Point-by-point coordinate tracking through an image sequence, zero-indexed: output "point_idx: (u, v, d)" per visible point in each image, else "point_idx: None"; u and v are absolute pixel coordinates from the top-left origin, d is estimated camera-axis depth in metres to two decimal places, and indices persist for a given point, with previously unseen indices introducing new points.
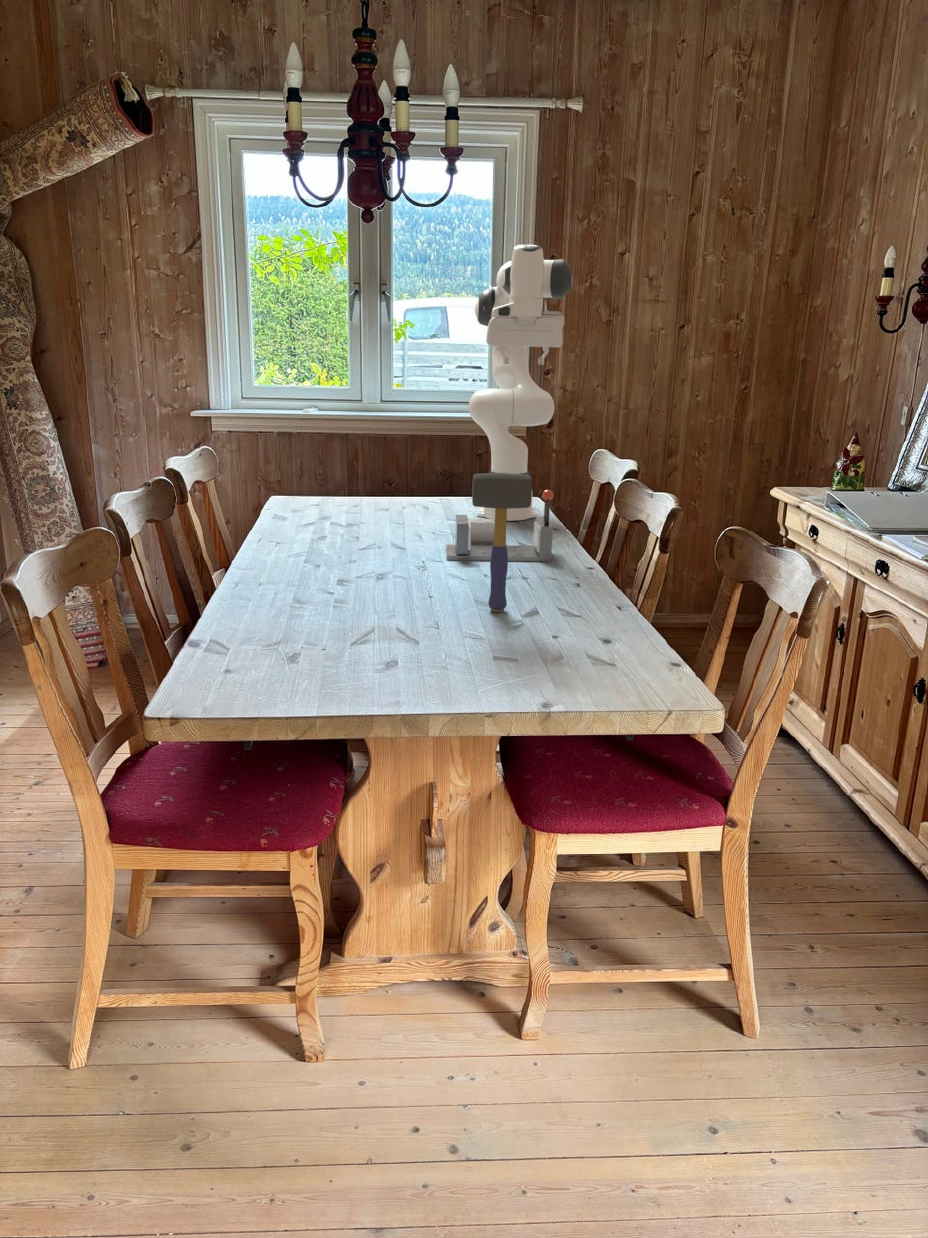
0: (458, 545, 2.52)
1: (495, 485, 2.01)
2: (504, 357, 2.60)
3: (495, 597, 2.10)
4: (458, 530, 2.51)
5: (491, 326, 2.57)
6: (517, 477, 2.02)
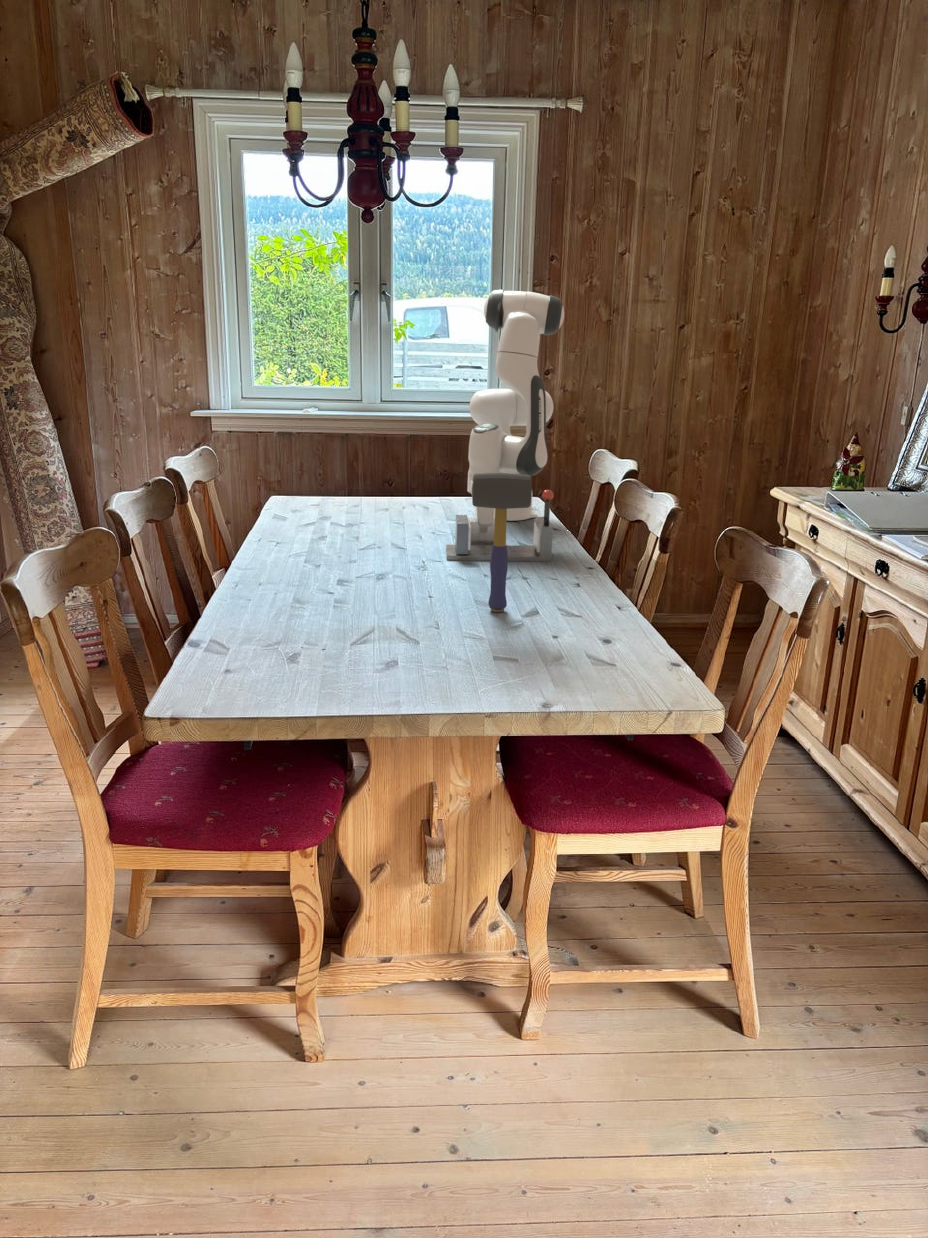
0: (458, 545, 2.52)
1: (495, 485, 2.01)
2: (486, 532, 2.65)
3: (495, 597, 2.10)
4: (458, 530, 2.51)
5: (494, 508, 2.57)
6: (517, 477, 2.02)
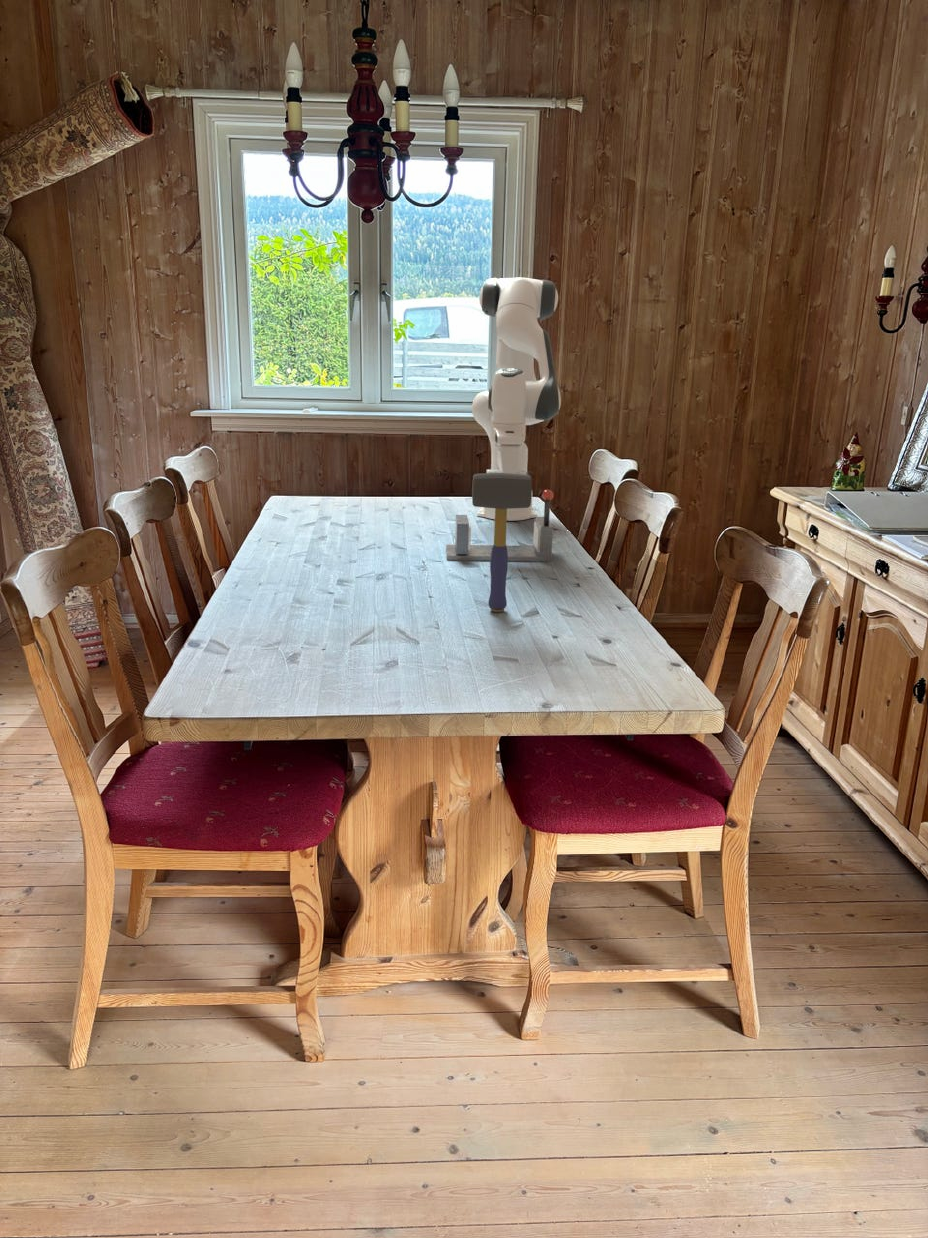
0: (458, 545, 2.52)
1: (495, 485, 2.01)
2: None
3: (495, 597, 2.10)
4: (458, 530, 2.51)
5: (519, 456, 2.43)
6: (517, 477, 2.02)
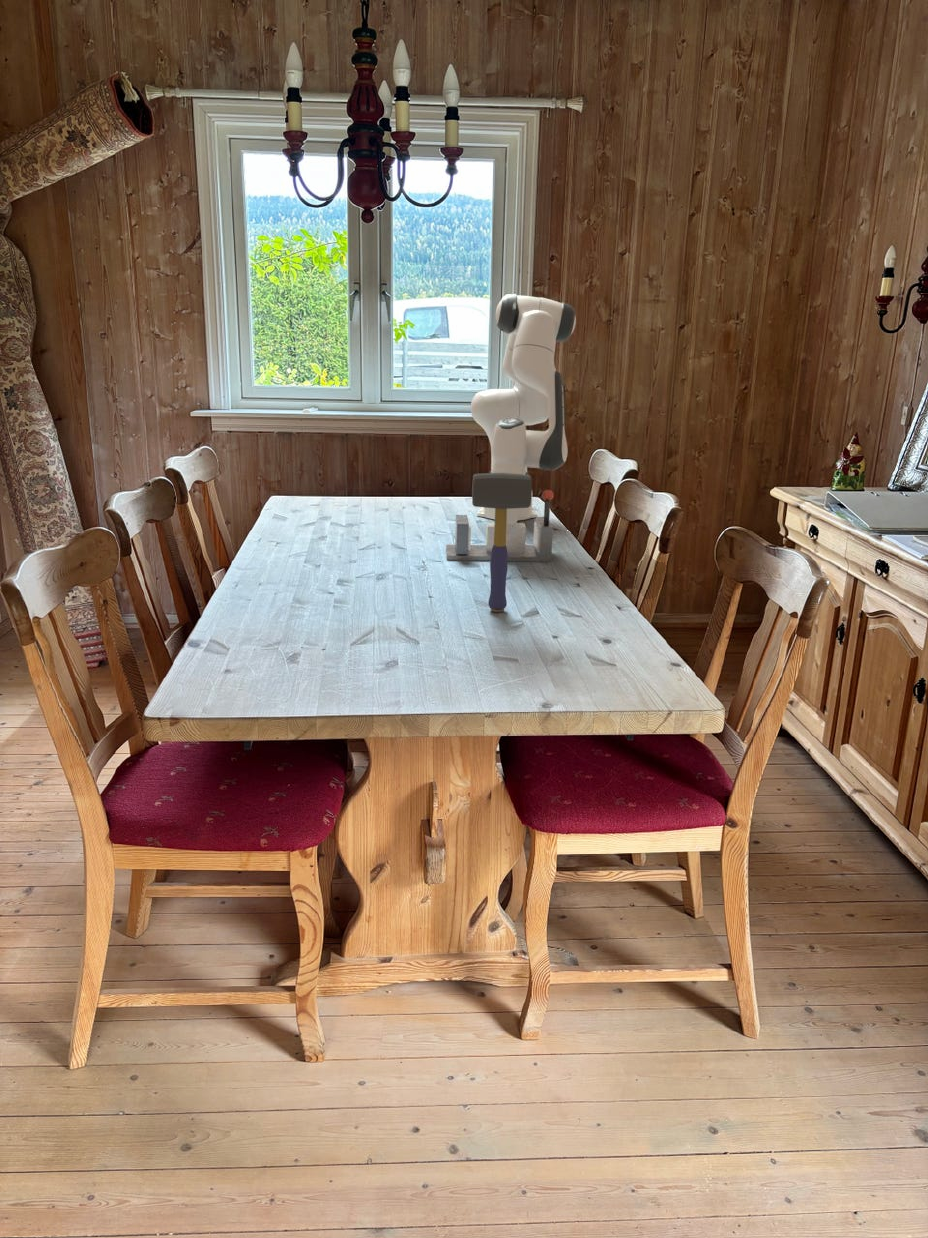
0: (458, 545, 2.52)
1: (495, 485, 2.01)
2: (510, 533, 2.53)
3: (495, 597, 2.10)
4: (458, 530, 2.51)
5: None
6: (517, 477, 2.02)
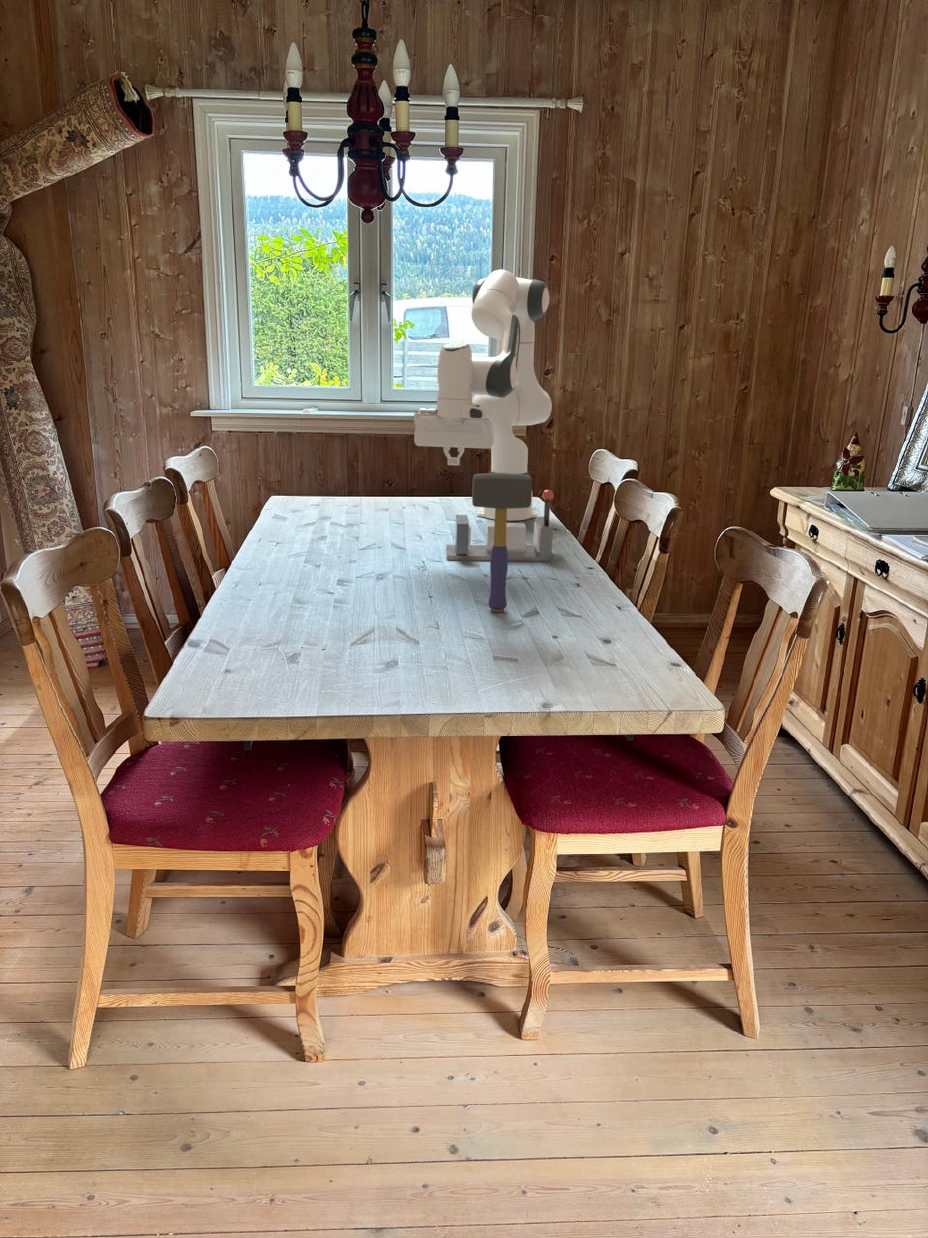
0: (458, 545, 2.52)
1: (495, 485, 2.01)
2: None
3: (495, 597, 2.10)
4: (458, 530, 2.51)
5: None
6: (517, 477, 2.02)
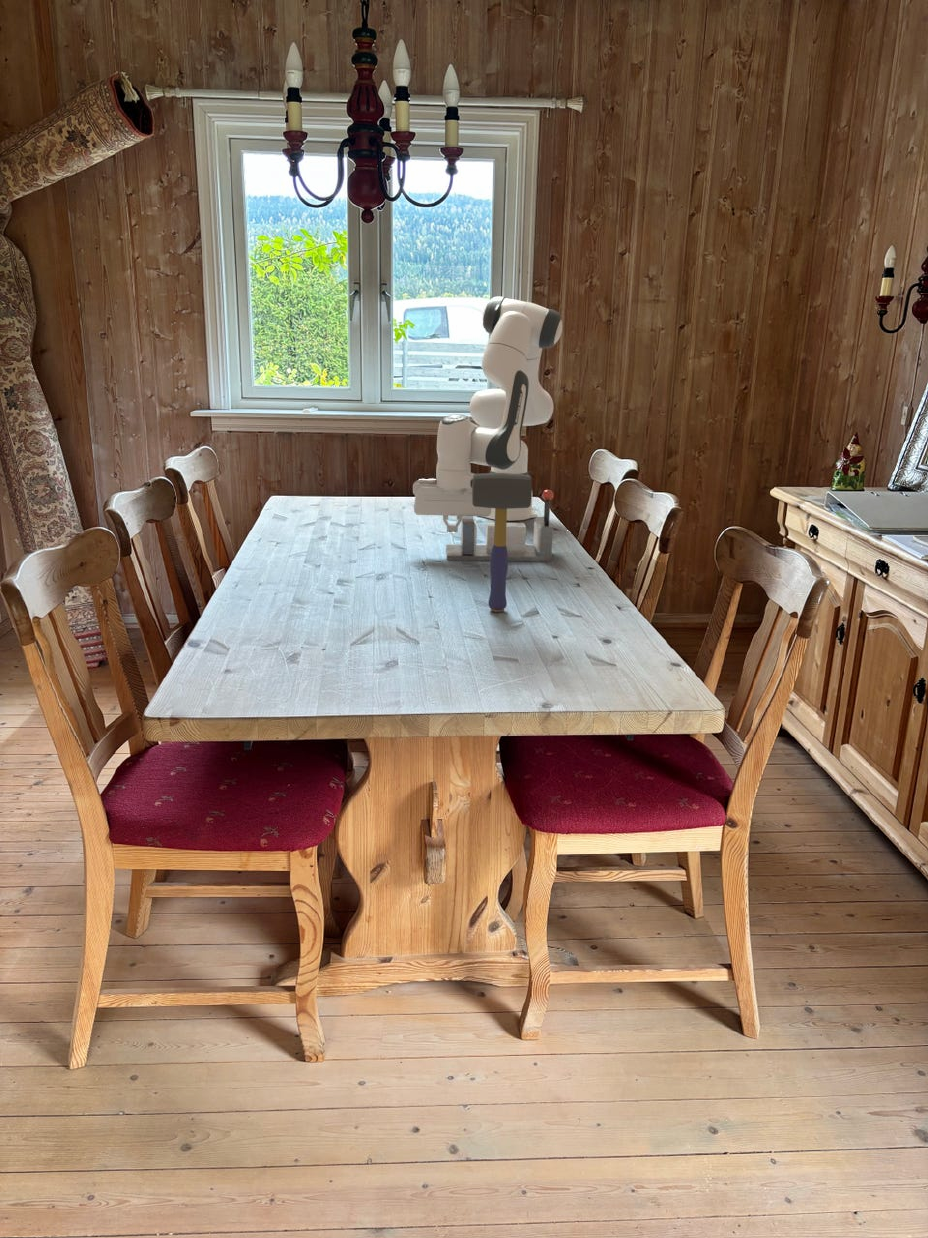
0: (464, 545, 2.52)
1: (495, 485, 2.01)
2: None
3: (495, 597, 2.10)
4: (464, 530, 2.51)
5: None
6: (517, 477, 2.02)
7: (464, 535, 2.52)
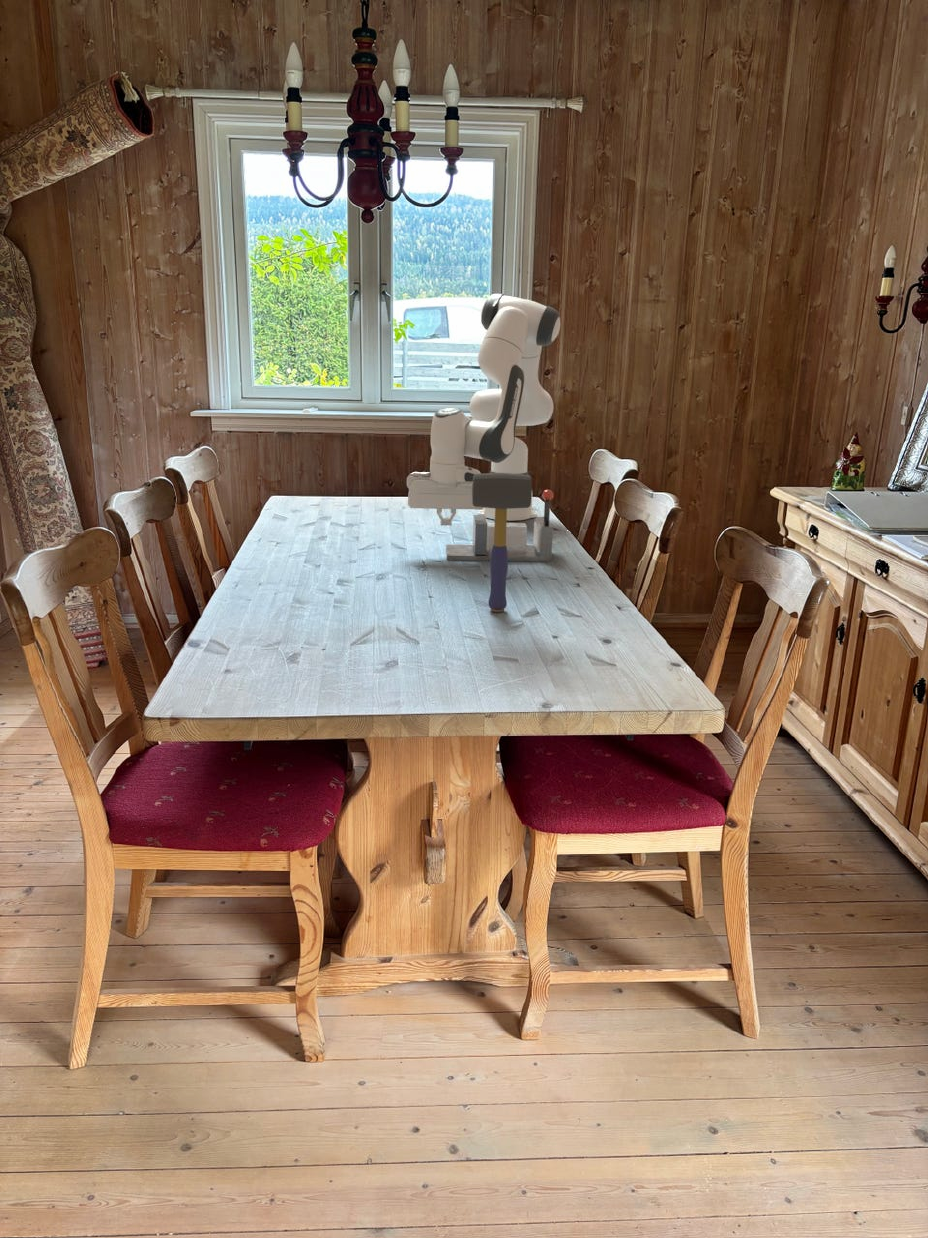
0: (476, 545, 2.53)
1: (495, 485, 2.01)
2: None
3: (495, 597, 2.10)
4: (477, 530, 2.51)
5: None
6: (517, 477, 2.02)
7: (477, 535, 2.52)
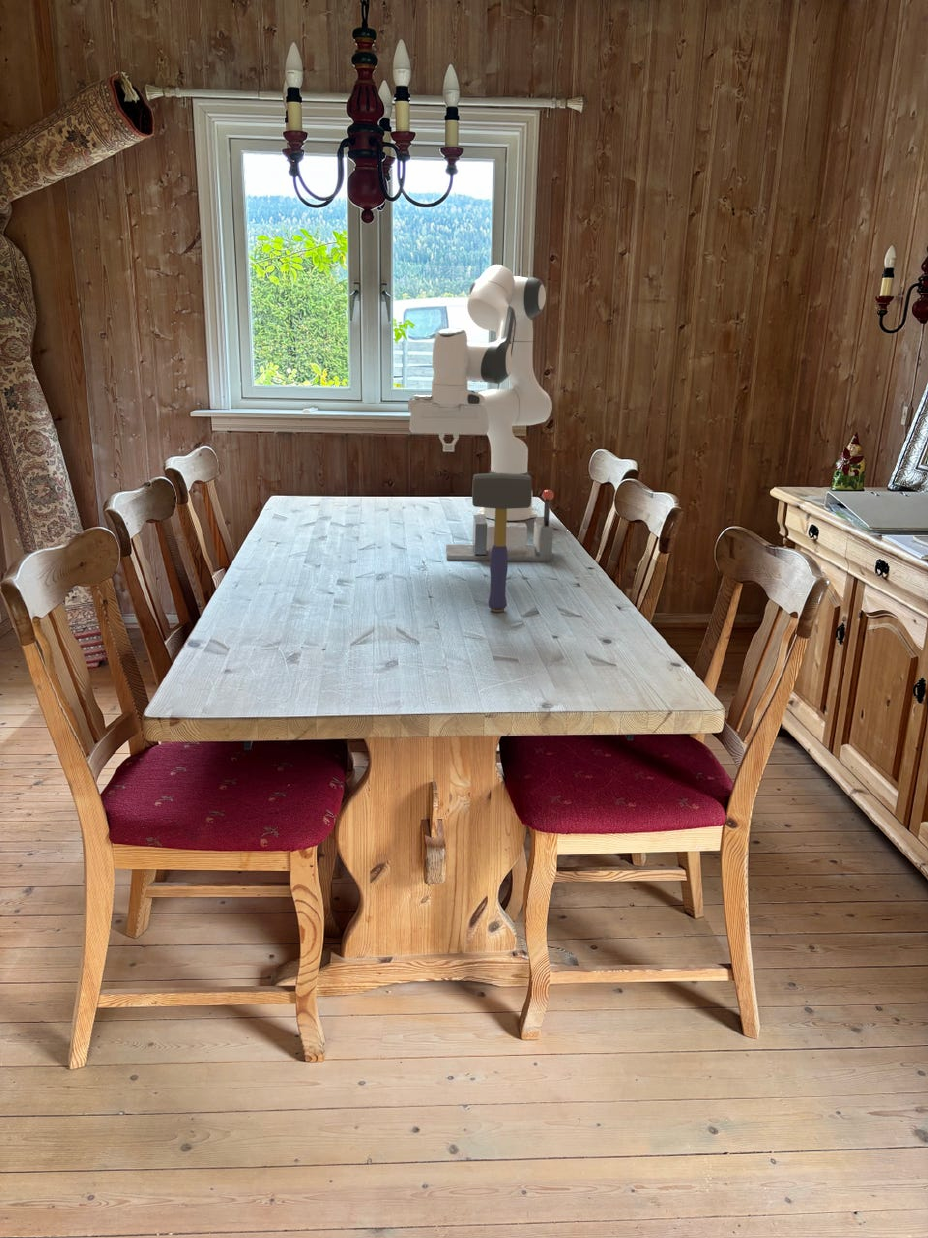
0: (476, 545, 2.53)
1: (495, 485, 2.01)
2: None
3: (495, 597, 2.10)
4: (477, 530, 2.51)
5: None
6: (517, 477, 2.02)
7: (477, 535, 2.52)
